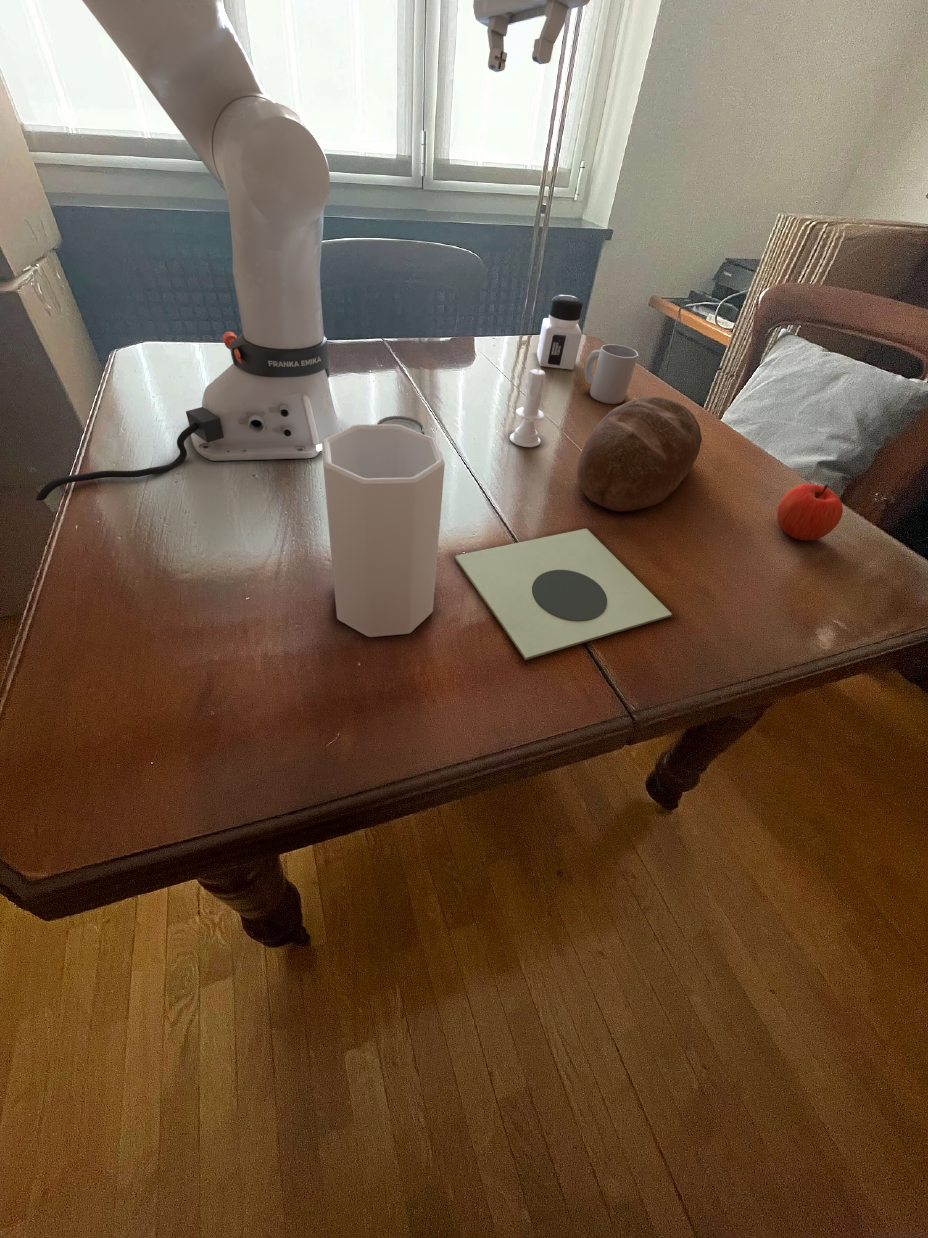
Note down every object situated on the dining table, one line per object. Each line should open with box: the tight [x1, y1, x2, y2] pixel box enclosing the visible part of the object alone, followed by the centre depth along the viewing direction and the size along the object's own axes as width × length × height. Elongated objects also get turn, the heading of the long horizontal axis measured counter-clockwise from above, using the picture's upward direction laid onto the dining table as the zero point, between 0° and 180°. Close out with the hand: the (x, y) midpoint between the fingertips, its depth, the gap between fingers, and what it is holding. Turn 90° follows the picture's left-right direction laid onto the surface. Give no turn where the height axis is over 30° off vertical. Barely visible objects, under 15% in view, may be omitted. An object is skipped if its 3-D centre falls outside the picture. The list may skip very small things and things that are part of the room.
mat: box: [454, 528, 673, 661], centre depth 66 cm, size 20×18×1 cm
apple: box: [776, 483, 844, 542], centre depth 78 cm, size 8×8×8 cm
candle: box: [509, 368, 546, 448], centre depth 89 cm, size 5×5×12 cm
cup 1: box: [321, 423, 446, 638], centre depth 54 cm, size 11×11×18 cm
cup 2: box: [583, 343, 639, 405], centre depth 108 cm, size 7×10×9 cm
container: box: [536, 294, 584, 370], centre depth 118 cm, size 8×8×13 cm
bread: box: [576, 396, 703, 513], centre depth 84 cm, size 16×29×11 cm, turn 147°
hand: (517, 66), depth 68 cm, fingers open, 8 cm apart
